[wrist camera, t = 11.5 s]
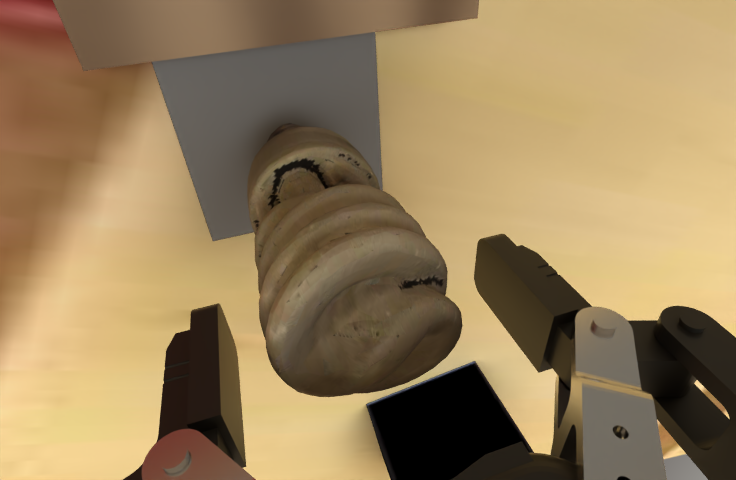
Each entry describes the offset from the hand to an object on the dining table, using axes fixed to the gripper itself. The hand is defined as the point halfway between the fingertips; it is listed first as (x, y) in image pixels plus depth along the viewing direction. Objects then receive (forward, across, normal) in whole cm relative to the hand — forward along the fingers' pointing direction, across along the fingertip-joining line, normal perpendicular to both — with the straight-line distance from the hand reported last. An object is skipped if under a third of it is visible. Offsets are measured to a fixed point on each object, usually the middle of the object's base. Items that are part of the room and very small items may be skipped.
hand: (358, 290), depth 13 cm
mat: (+12, 0, 0) cm, 12 cm away
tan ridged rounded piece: (+12, 0, 0) cm, 12 cm away
